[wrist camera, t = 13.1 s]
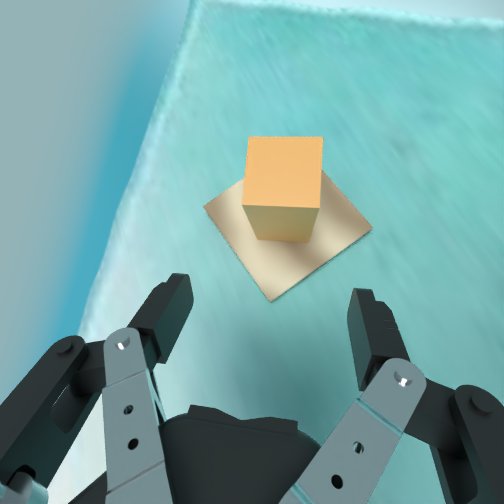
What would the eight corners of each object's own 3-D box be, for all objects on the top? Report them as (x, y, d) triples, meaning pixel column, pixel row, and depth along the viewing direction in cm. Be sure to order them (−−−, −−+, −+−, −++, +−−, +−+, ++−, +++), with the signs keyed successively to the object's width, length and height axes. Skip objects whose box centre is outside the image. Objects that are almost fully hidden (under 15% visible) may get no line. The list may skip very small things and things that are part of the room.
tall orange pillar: (311, 194, 29) (323, 136, 19) (308, 242, 28) (319, 207, 18) (261, 192, 30) (248, 136, 20) (257, 239, 29) (241, 204, 19)
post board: (295, 148, 32) (297, 100, 25) (369, 231, 29) (396, 205, 22) (206, 211, 32) (182, 182, 24) (270, 302, 29) (265, 300, 21)
